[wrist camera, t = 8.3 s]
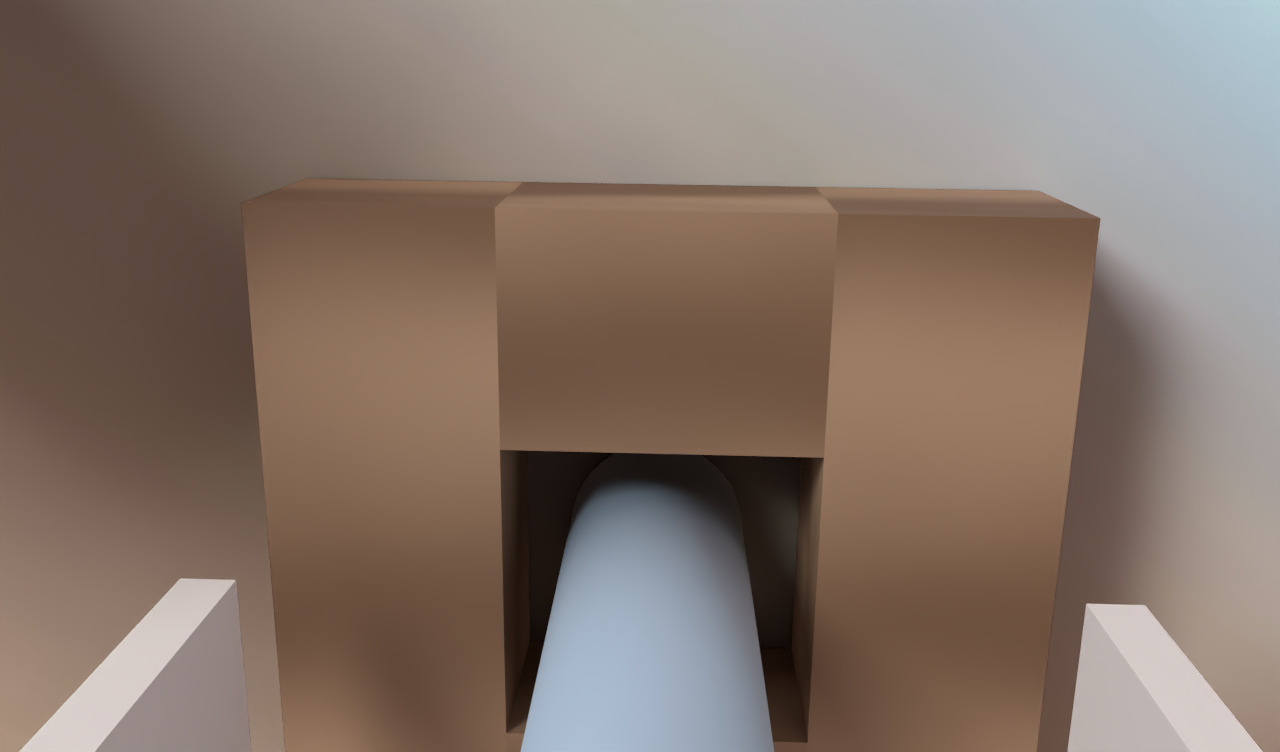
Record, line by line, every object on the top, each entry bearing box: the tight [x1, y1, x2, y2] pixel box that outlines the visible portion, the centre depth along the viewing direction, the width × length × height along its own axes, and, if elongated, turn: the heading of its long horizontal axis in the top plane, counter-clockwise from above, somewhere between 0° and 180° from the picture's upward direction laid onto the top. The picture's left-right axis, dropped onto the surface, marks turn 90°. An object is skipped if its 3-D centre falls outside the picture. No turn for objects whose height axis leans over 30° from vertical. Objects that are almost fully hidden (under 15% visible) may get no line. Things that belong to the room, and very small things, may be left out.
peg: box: [520, 453, 774, 752], centre depth 16 cm, size 3×3×11 cm
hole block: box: [241, 179, 1100, 752], centre depth 20 cm, size 12×12×3 cm
